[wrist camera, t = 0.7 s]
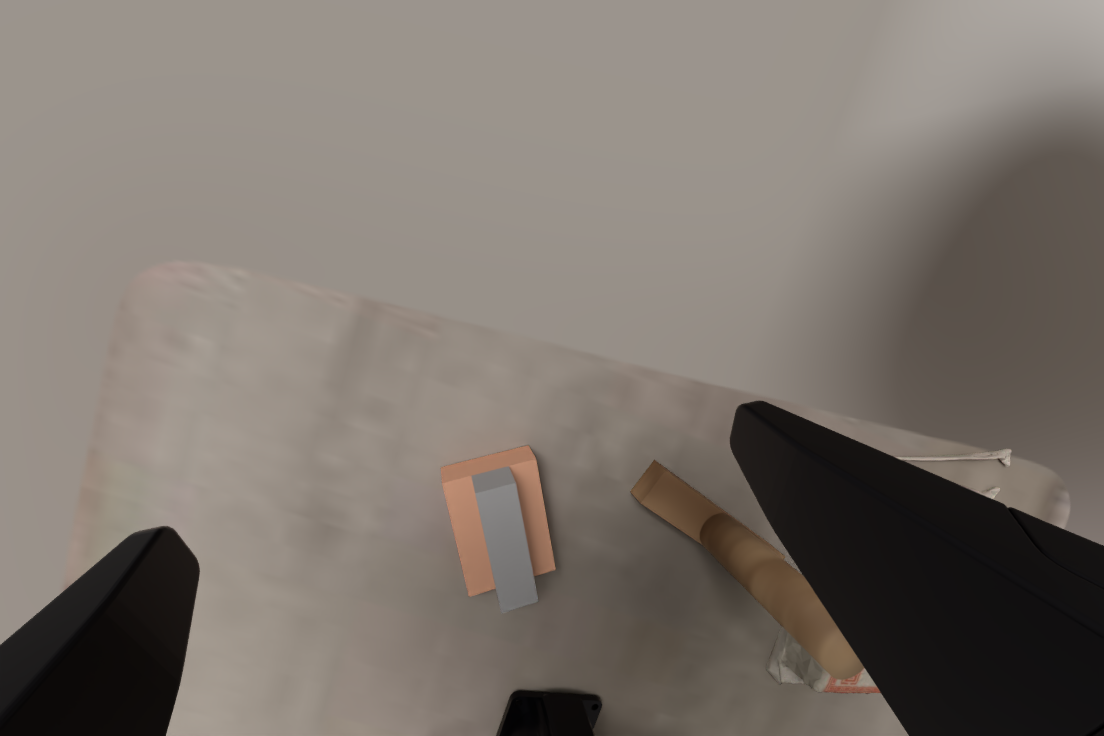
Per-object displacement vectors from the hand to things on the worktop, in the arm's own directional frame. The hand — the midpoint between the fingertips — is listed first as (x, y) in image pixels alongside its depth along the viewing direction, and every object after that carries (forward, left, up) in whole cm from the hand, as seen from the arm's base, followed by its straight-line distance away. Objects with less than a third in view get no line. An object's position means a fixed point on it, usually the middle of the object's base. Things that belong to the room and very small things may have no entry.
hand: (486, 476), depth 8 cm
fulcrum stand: (-9, -6, -18) cm, 21 cm away
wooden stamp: (-7, -20, -18) cm, 28 cm away
